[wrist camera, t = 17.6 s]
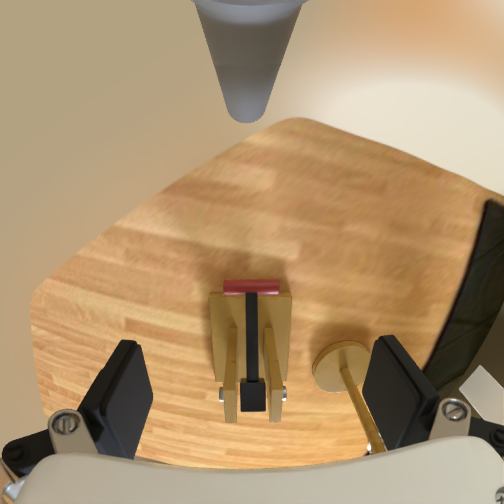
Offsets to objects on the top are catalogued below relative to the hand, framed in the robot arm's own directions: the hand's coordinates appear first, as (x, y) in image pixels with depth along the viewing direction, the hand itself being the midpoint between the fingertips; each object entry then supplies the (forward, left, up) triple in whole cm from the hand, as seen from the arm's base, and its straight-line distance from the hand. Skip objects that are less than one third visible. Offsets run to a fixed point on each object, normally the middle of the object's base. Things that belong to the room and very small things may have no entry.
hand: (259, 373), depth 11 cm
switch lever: (+8, 0, -15) cm, 17 cm away
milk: (+27, +42, -22) cm, 54 cm away
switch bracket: (+12, 0, -21) cm, 24 cm away
